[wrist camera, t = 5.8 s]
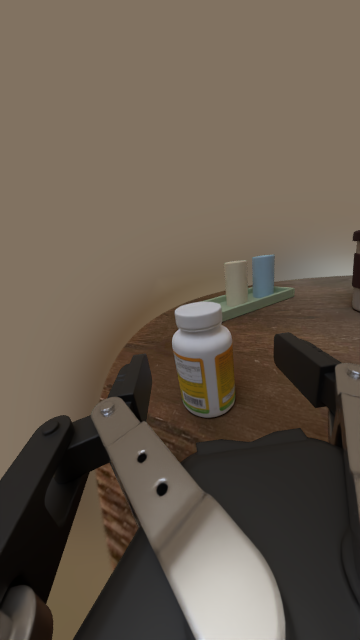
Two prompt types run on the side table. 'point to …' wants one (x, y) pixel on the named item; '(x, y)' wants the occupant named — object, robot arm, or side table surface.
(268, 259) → the blue cylinder
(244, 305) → the tray
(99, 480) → the side table surface
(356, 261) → the coffee cup
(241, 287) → the beige upright cylinder
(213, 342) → the supplement bottle
